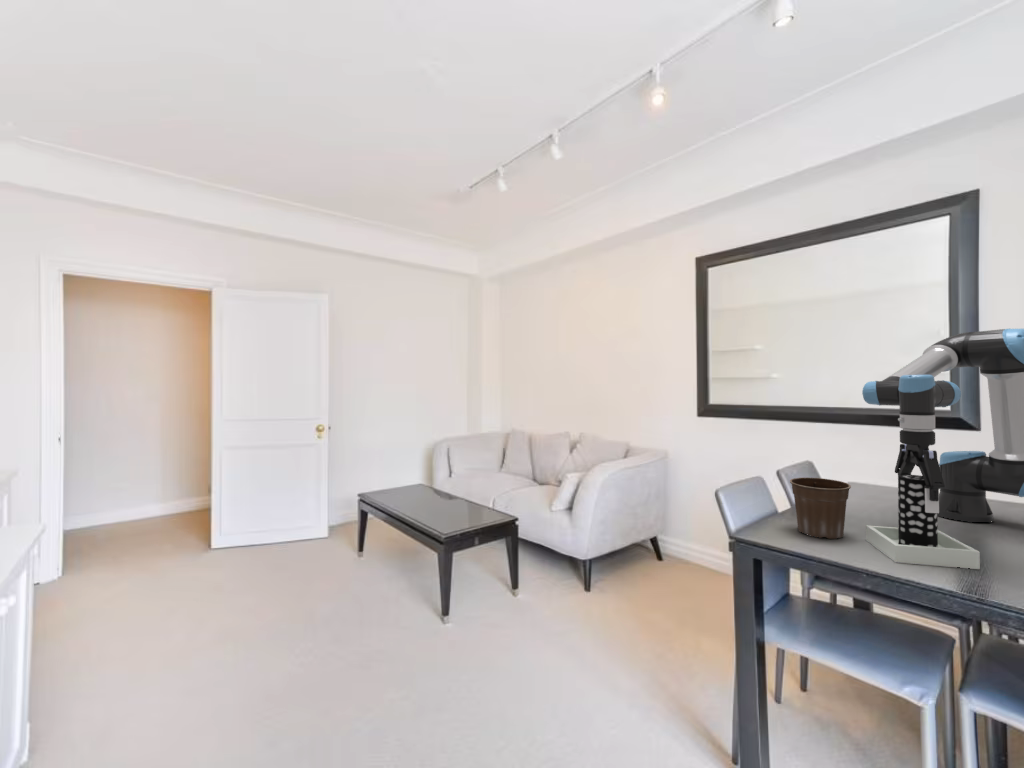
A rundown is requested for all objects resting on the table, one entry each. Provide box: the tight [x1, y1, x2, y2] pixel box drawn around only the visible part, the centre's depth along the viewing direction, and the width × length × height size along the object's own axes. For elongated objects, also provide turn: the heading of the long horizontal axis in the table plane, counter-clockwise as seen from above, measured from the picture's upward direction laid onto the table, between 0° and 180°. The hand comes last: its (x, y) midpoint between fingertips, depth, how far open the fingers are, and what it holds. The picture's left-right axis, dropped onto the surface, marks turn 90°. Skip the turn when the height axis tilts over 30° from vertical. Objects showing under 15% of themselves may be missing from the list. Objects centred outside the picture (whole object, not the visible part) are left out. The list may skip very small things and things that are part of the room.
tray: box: [865, 525, 981, 570], centre depth 131 cm, size 18×18×4 cm
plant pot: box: [789, 477, 852, 540], centre depth 149 cm, size 16×16×16 cm
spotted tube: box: [897, 474, 939, 547], centre depth 131 cm, size 8×8×20 cm
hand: (918, 506), depth 131 cm, fingers open, 13 cm apart
